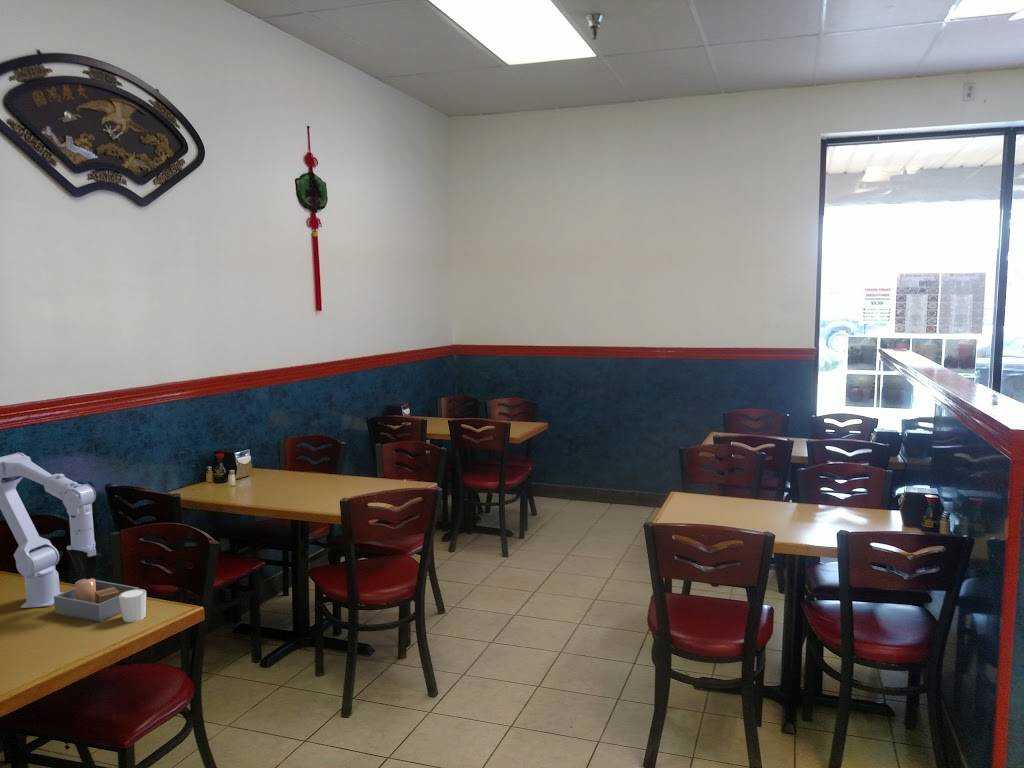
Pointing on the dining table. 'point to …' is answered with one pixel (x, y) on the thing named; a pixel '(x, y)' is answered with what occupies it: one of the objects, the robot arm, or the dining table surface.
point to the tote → (90, 603)
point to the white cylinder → (133, 604)
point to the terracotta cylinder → (86, 590)
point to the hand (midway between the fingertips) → (85, 575)
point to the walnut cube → (105, 594)
